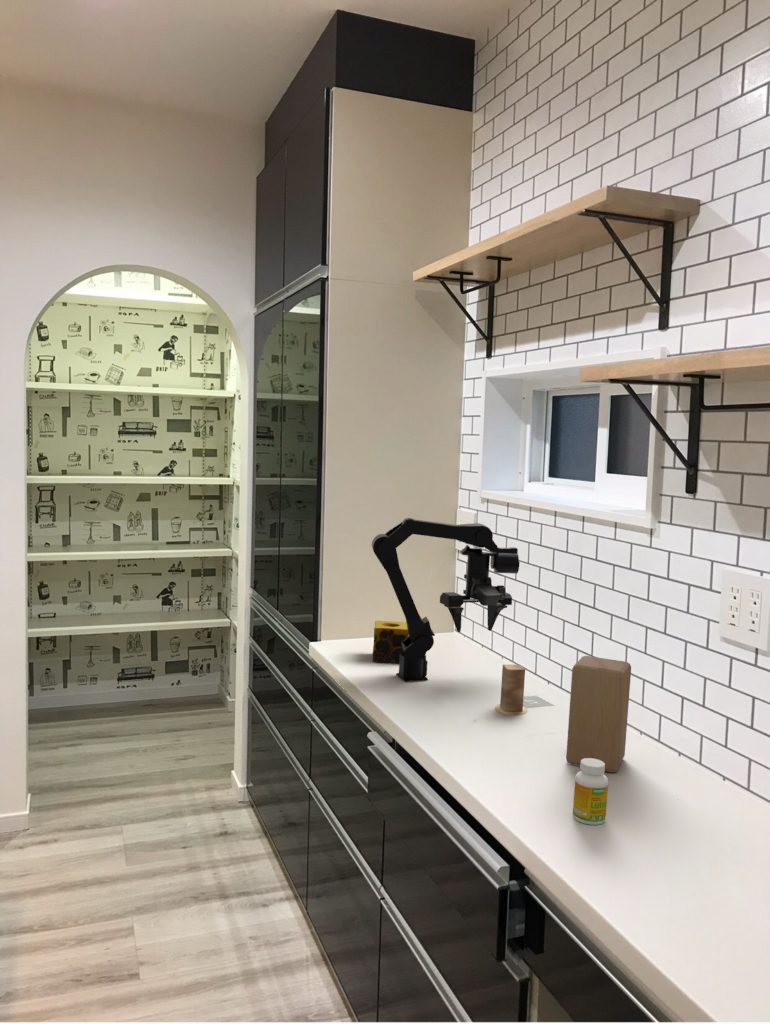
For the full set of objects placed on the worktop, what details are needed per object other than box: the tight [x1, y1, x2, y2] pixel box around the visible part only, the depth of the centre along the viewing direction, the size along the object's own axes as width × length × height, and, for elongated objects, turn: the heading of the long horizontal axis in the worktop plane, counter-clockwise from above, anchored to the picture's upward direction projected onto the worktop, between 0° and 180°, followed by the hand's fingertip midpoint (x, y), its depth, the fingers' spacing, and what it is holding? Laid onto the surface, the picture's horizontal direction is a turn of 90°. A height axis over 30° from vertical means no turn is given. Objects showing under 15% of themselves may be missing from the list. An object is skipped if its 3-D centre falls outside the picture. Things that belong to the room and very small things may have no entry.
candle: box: [372, 620, 409, 665], centre depth 236 cm, size 10×10×10 cm
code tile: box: [523, 695, 555, 709], centre depth 202 cm, size 8×8×1 cm
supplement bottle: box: [572, 758, 609, 826], centre depth 140 cm, size 5×5×10 cm
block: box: [565, 655, 632, 774], centre depth 165 cm, size 10×10×20 cm
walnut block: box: [499, 664, 526, 712], centre depth 195 cm, size 4×4×10 cm
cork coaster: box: [494, 704, 529, 716], centre depth 195 cm, size 8×8×1 cm
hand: (474, 631), depth 218 cm, fingers open, 9 cm apart
